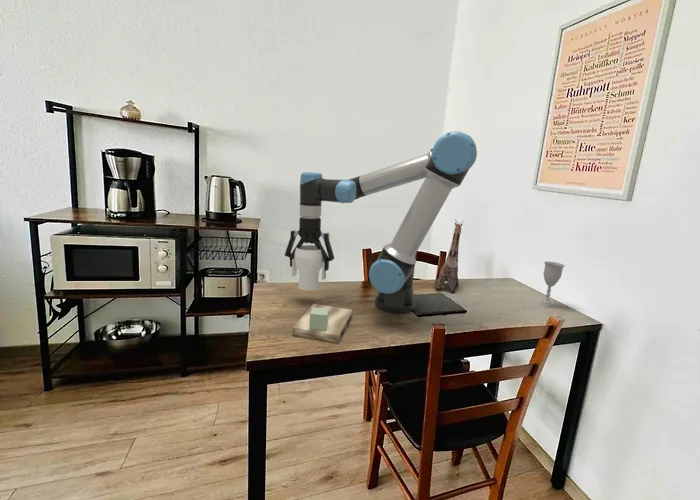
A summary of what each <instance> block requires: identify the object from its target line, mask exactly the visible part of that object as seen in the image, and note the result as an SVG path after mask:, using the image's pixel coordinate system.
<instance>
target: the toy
mask: <svg viewBox="0 0 700 500" xmlns="http://www.w3.org/2000/svg"><path fill="white" fill-rule="evenodd" d="M454 220H455V222H454V226H455V228H454V229H453V230H454V231H453V237H452V241H451V244H450V248H449V251H448V254H447V257H446V260H445V262H444V263H443V265H442V267H440V270H439V276H438V278H437V280H436V282H435V286H434V288H435V289H434V290H436V291H438V290H439V289H440V288H441V287H442V285H443V284H444V283H445V282H447V283H448V286H449V290H450V292H451V293H452V294H454V293H455V291H456V288H457V287H458V286H459V276H458V275H459V274H458V272H459V248H460V247H459V245H460V237H461V233H462V226H463V222H464V220H463V221H461V223H458V221H457V219H454Z"/></svg>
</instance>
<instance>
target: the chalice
mask: <svg viewBox="0 0 700 500" xmlns="http://www.w3.org/2000/svg"><path fill="white" fill-rule="evenodd" d="M543 263H544V269H543V272H542V273H543V279H544V282H545V285H547V286H548V287H547V289H546V293H545V299H544V298H543V299H542V300H541V301H540V302H539V304H538V306H539V307H541V308H545V309H553V308H554V307H553V304H552V301H551V300H550V296H551V292H552V290H551V289H552V287H555V286H556V284H557V283H558V282H559V280H560V279H561V278H562V274H563V273H562V272H563V269H564V268H565V266H566V265H565V264H563V263H560V262H557V261H556V262H554V261H548V260H547V261H544V262H543Z"/></svg>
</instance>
